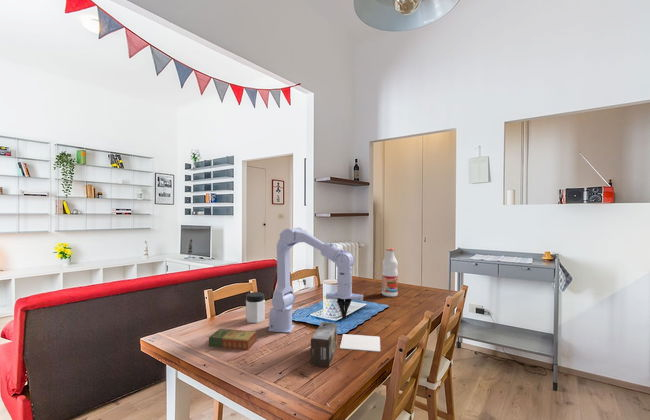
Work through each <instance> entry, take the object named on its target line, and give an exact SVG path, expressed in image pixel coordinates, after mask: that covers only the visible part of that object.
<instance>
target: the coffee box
mask: <svg viewBox="0 0 650 420" xmlns="http://www.w3.org/2000/svg"><path fill="white" fill-rule="evenodd" d="M337 346H338V323H337V322H329V321H321V322H320V324H319V326H318V327H317V329H316V330H315V332H314V333H313V335H312V337H311V338H310V365H311V366H318V367H326V368H329V367H330V365H331V362H332V361H333V357H334V355H335V351H336V349H337Z"/></svg>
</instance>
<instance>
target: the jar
mask: <svg viewBox="0 0 650 420" xmlns="http://www.w3.org/2000/svg"><path fill="white" fill-rule="evenodd" d="M245 296H246V297H245V298H246V299H245V320H246V323H249V324H258V323H261V322H264V321H265V317H266V316H265V312H266V311H265V309H266V308H265V307H266V306H265V304H266V302H265V301H266V300H265V294H264V292H261V291H253V292H248V293H247V294H246V295H245Z"/></svg>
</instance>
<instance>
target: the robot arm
mask: <svg viewBox="0 0 650 420" xmlns="http://www.w3.org/2000/svg"><path fill="white" fill-rule="evenodd" d="M298 243H305V244H307V245H309V246H311V247H312V248H314V249H317V250H318V251H320V254H321V256H322V257H324V258H326V259H328V260H329V261H331V262H332V263H335V266H336V268H337V283H336V285H337V287H336V289H337V290H336V292H326V293H325V300H331V299H332V300H337V301H336V303H337V305H338V308H339V309H340V314H341V318H342V319H347V313H348V310H349V307H350V305H351V303H352V301H360V302H364V301H363V300H364V294H359V293H358V294H357V293H353V292H352V291H353V289H352V288H353V287H352V286H353V266H352V265H353V264H354V262H355V257H354V255H353V254H352V252H350V251H345V249H343V248H339V247H338V246H335V244H334V243H333V242H326V243H324V242H323V241H322V240H320V239H319V238H317V237H315V236H314V235H312V234H310V233H309V232H308V231H307V230H306V229H303V228H301V227H294V228H286V229H283V230H282V231H281V232H280V233H279V238H278V242H276V277H277V279H276V281H277V283H276V288H275V290H274V291H273V296H272V298H271V304H272V307H271V308H270V310H269V314H268V318H269V319H268V332H276V333H288V334H290V333H291V332H292V330H293V329H294V328H295V324H293V305H294V303H295V301H296V296H295V293H294V288H293V287H292V286H291V265H290V264H291V262H290V261H291V258H290V257H291V255H290V250H291V249H292V248H293V247H294V246H295V245H296V244H298Z"/></svg>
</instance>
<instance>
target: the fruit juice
mask: <svg viewBox="0 0 650 420" xmlns="http://www.w3.org/2000/svg"><path fill="white" fill-rule="evenodd" d="M385 252H386V253H385V256H384V258H383V260H382V264H381V265H382V271H381V294H382V296H384V297H397V296H398V292H399V291H398V290H399V289H398V288H399V287H398V285H399V271H398V266H399V263H398V260H397V259H396V256H395V253H394V252H395V248H393V247H392V248H391V247H387V248H386V249H385Z"/></svg>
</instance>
